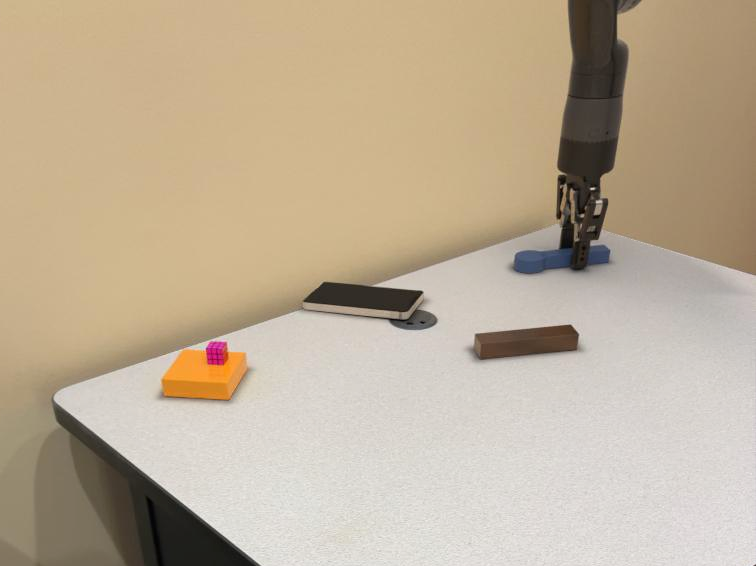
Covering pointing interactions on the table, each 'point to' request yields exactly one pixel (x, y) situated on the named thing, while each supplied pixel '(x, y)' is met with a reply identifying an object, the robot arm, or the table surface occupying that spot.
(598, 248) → the spoon
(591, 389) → the table surface
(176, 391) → the orange square platform
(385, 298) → the smartphone
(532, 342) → the walnut bar
